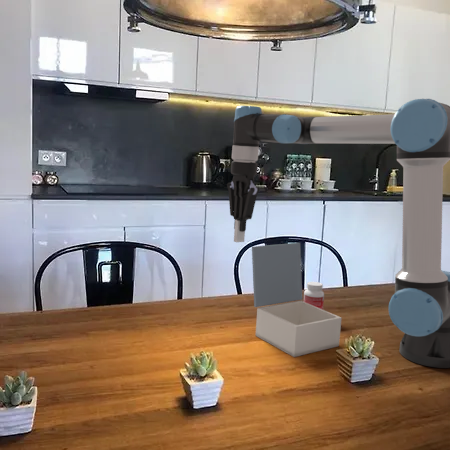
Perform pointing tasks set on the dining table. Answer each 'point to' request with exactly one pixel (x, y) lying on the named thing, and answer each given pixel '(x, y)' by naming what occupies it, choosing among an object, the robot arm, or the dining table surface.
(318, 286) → the pill bottle
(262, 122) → the robot arm
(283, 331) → the box
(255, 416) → the dining table surface
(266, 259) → the lid
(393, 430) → the dining table surface
